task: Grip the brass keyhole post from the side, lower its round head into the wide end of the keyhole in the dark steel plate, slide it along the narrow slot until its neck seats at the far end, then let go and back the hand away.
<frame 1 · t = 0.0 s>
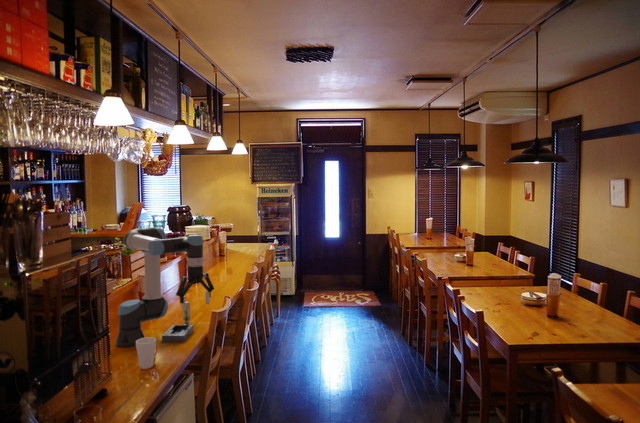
hand: (195, 306, 225), 28 cm above the bar counter, tool pointing down, fingers open, 13 cm apart
foam cup: (146, 366, 220), on the bar counter
keyhole plate: (178, 336, 262), on the bar counter
brass post: (186, 325, 282), on the bar counter
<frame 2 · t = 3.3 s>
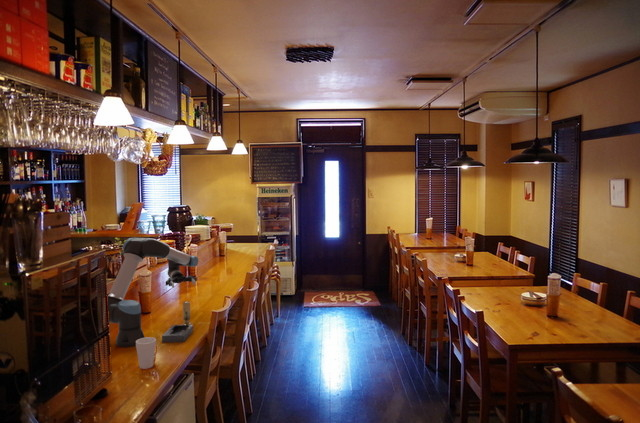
hand: (184, 284, 287), 25 cm above the bar counter, tool horizontal, fingers open, 13 cm apart
nothing on the bar counter moved.
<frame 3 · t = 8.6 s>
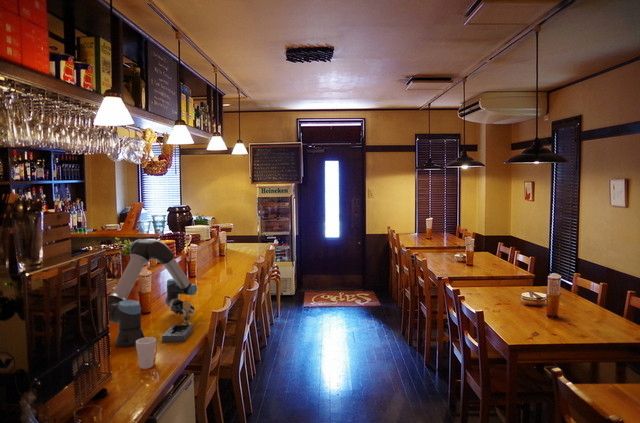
hand: (189, 313, 278), 9 cm above the bar counter, tool horizontal, fingers closed on brass post, 4 cm apart
brass post: (186, 325, 282), on the bar counter, touching gripper
everything else where it was.
when the fingers open (10 cm above the bar counter, at t = 16.5 s): brass post stays where it is, resting on keyhole plate.
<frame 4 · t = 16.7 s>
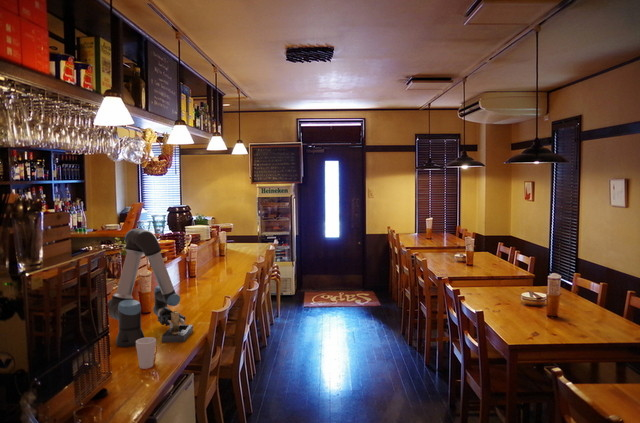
hand: (178, 324, 252), 10 cm above the bar counter, tool horizontal, fingers open, 6 cm apart
brass post: (175, 337, 257), point 1 cm above the bar counter, touching keyhole plate
everything else where it was.
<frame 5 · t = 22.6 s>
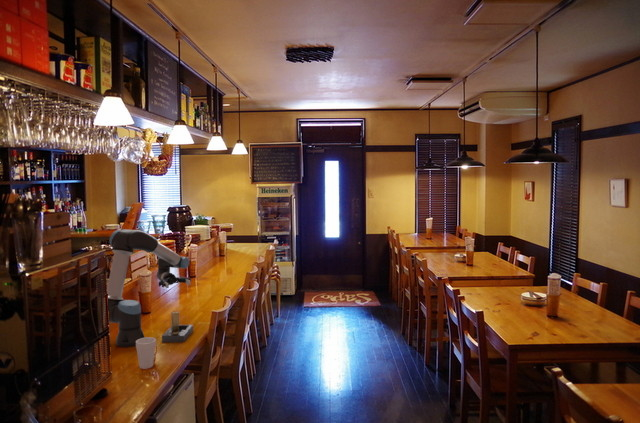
hand: (179, 284, 274), 28 cm above the bar counter, tool horizontal, fingers open, 13 cm apart
nothing on the bar counter moved.
at the end: brass post 0.0 cm from the target spot on the keyhole plate, point 1.0 cm above the keyhole plate's base; brass post tilted 1°; the gripper is holding nothing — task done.
